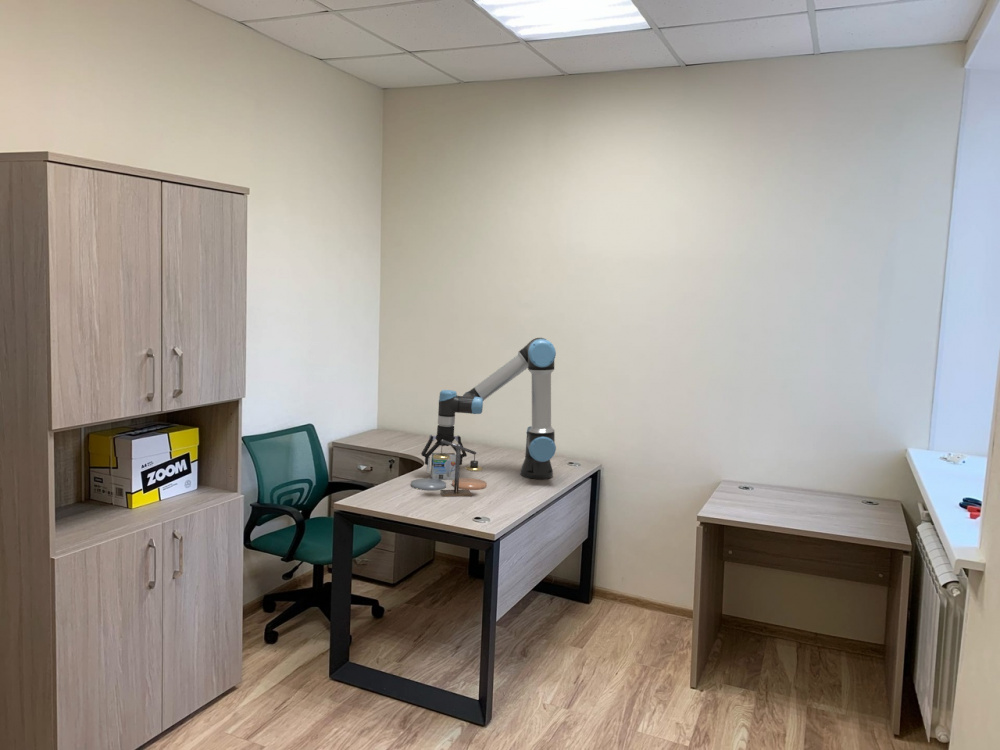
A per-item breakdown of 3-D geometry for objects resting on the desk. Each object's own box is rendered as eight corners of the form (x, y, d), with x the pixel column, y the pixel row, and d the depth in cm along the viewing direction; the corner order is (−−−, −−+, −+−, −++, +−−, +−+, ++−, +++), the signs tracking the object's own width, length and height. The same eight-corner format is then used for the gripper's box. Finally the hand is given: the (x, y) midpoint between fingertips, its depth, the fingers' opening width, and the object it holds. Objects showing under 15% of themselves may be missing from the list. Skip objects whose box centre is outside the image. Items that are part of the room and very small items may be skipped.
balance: (478, 491, 324) (481, 437, 321) (482, 496, 317) (485, 441, 314) (429, 492, 318) (432, 437, 315) (432, 497, 311) (435, 441, 309)
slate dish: (442, 481, 338) (442, 478, 337) (449, 490, 323) (449, 487, 323) (408, 481, 333) (408, 478, 333) (413, 490, 319) (414, 487, 319)
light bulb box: (432, 480, 339) (433, 456, 337) (430, 476, 345) (431, 452, 344) (456, 479, 341) (457, 456, 340) (453, 475, 348) (454, 452, 347)
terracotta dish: (481, 480, 342) (482, 477, 342) (490, 489, 328) (490, 486, 328) (448, 480, 338) (449, 478, 338) (456, 490, 324) (456, 487, 324)
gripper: (471, 424, 347) (468, 469, 350) (416, 422, 341) (413, 469, 343) (475, 427, 340) (472, 473, 343) (419, 426, 333) (416, 473, 336)
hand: (442, 471), depth 343 cm, fingers open, 13 cm apart
